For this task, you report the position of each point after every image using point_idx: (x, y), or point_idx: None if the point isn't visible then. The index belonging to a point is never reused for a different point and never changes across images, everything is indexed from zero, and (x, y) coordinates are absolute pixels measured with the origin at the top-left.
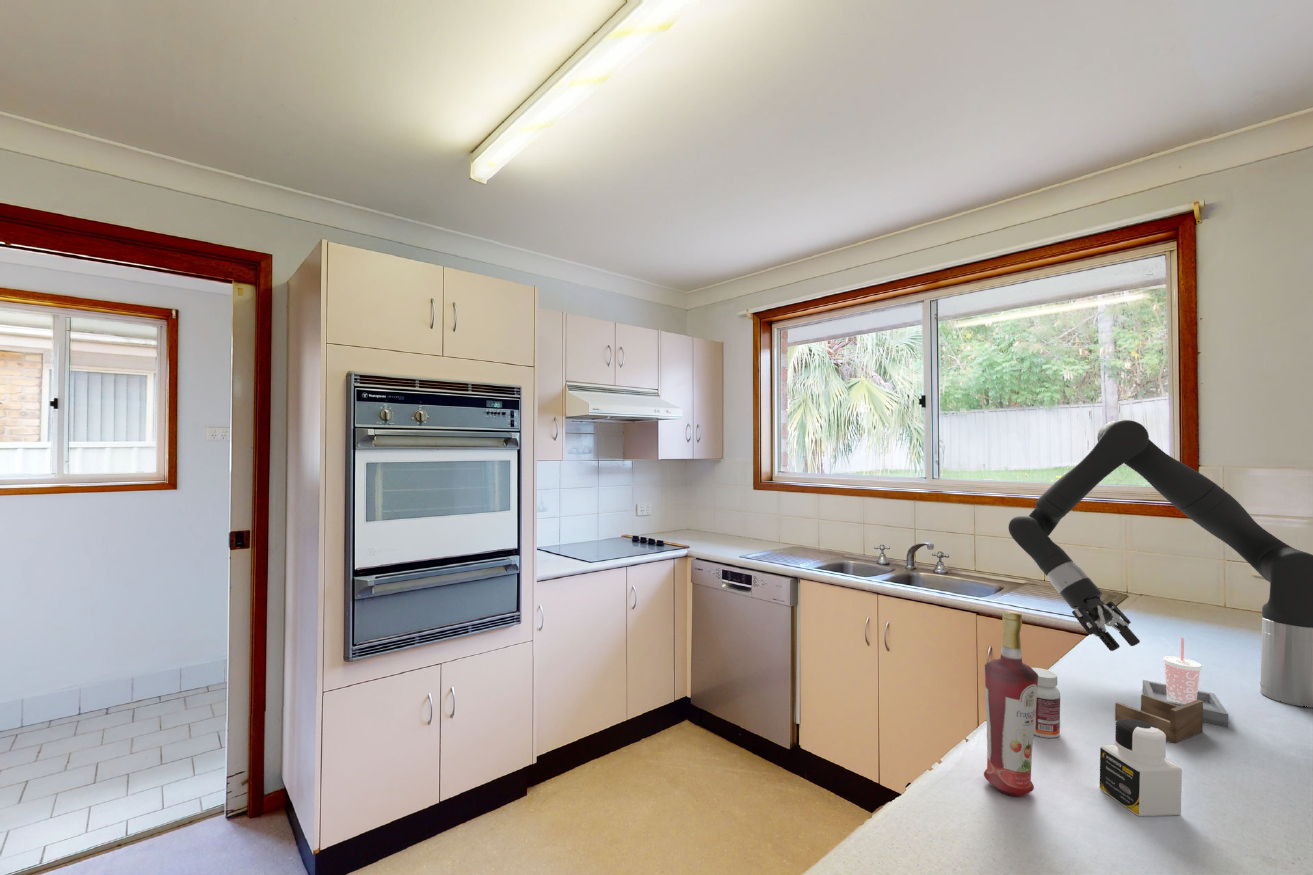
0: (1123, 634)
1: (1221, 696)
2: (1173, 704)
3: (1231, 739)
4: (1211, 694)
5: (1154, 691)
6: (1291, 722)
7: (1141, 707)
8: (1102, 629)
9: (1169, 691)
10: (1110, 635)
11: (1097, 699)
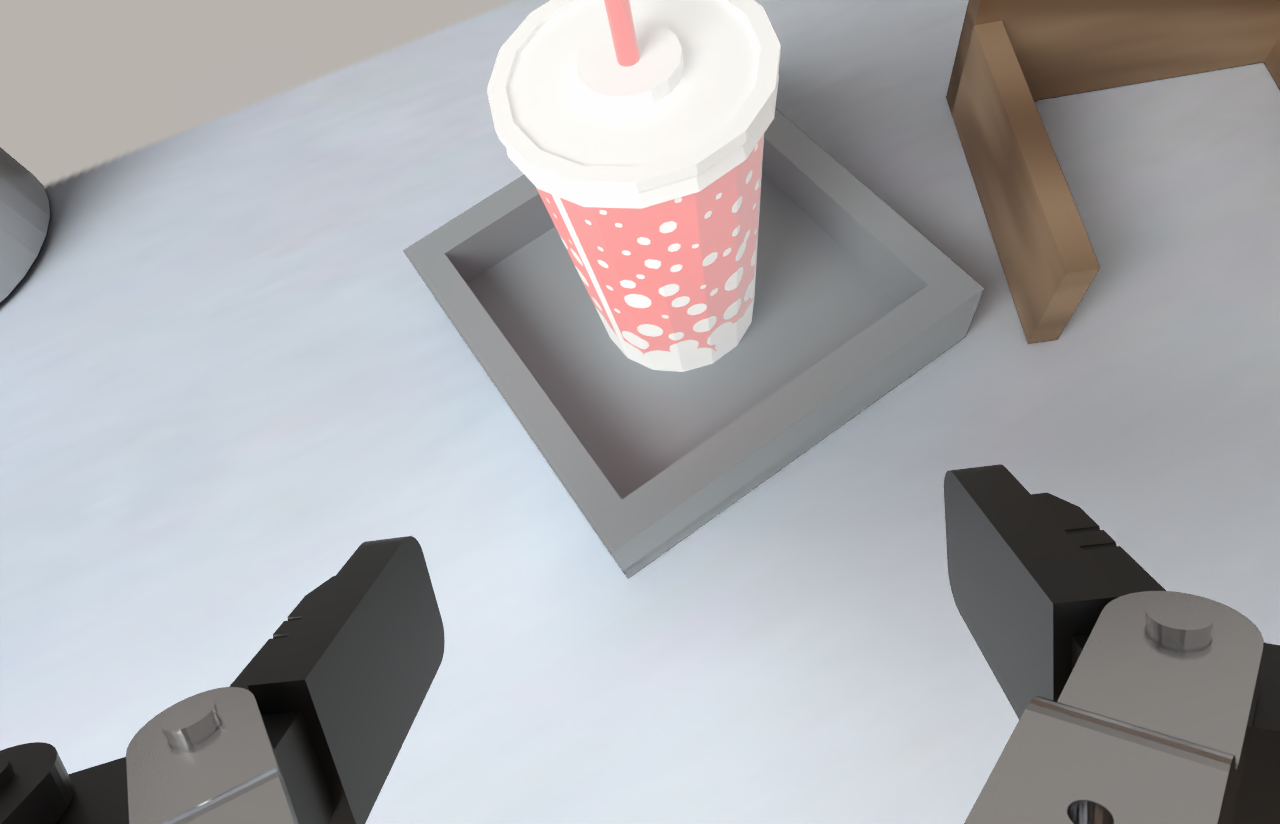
0: (376, 746)
1: (221, 365)
2: (1016, 117)
3: (877, 32)
4: (439, 246)
5: (622, 489)
6: (334, 98)
7: (1067, 320)
8: (1243, 622)
9: (747, 285)
10: (1040, 552)
11: (1232, 577)
